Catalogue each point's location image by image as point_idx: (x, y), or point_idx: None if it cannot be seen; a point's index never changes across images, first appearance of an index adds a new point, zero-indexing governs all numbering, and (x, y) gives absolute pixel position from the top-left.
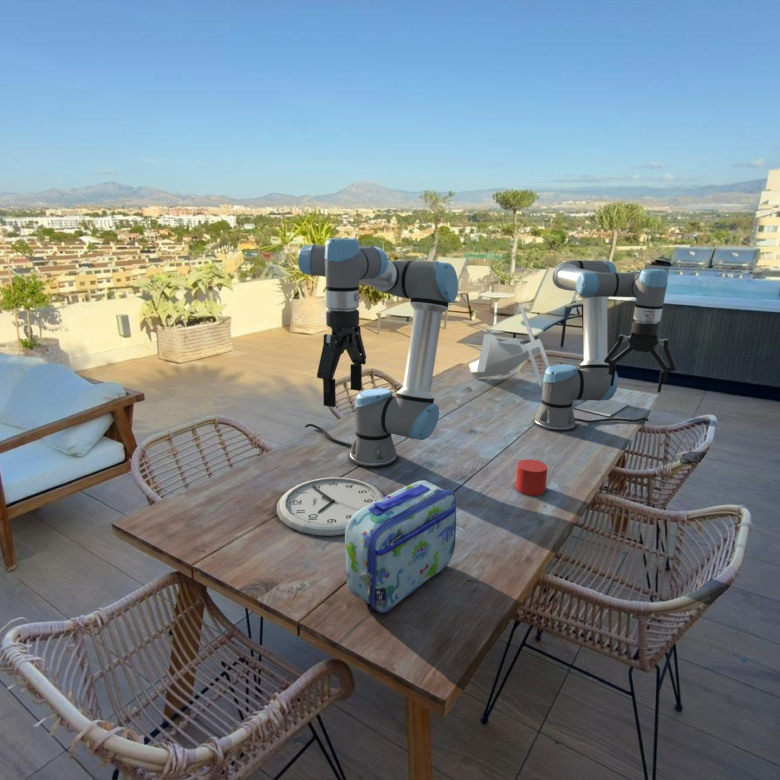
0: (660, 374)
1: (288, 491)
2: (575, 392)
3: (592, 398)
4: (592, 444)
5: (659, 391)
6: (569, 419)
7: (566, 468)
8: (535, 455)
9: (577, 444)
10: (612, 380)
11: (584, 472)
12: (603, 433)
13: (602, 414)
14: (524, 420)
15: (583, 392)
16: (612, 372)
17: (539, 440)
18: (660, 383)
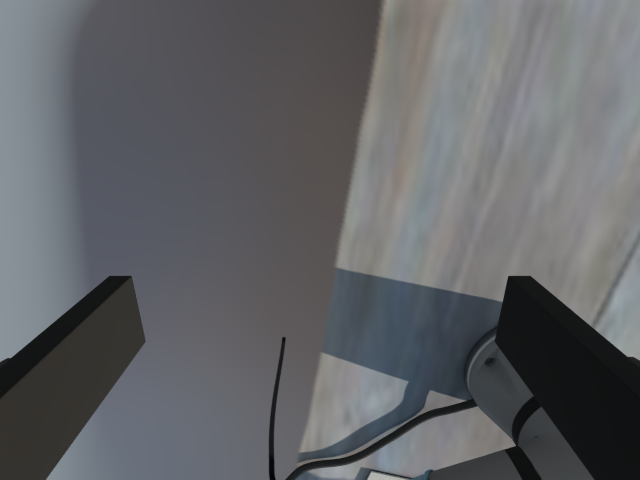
0: (41, 466)
1: None
2: (548, 458)
3: (460, 464)
4: (412, 266)
5: (112, 279)
6: (496, 373)
7: (501, 10)
8: (606, 78)
9: (458, 245)
10: (552, 303)
11: (438, 6)
12: (382, 360)
13: (388, 477)
14: None
15: (514, 469)
16: (636, 365)
17: (580, 221)
18: (65, 325)
